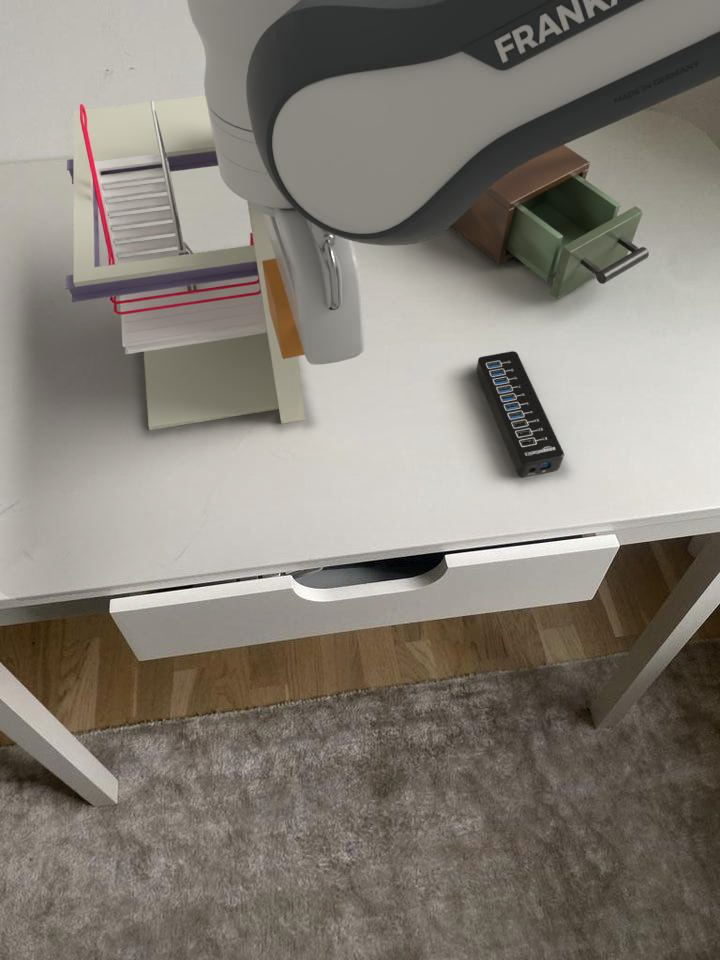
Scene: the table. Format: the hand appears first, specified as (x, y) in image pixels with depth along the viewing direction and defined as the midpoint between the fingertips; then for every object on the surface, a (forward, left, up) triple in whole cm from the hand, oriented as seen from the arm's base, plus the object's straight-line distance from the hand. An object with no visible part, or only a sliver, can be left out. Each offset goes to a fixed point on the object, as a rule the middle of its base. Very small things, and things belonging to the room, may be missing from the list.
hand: (307, 312), depth 56 cm
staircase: (+8, -23, -24) cm, 34 cm away
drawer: (-36, -24, -23) cm, 49 cm away
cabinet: (-31, -35, -24) cm, 53 cm away
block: (0, 0, -2) cm, 2 cm away
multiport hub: (-22, -3, -24) cm, 33 cm away
